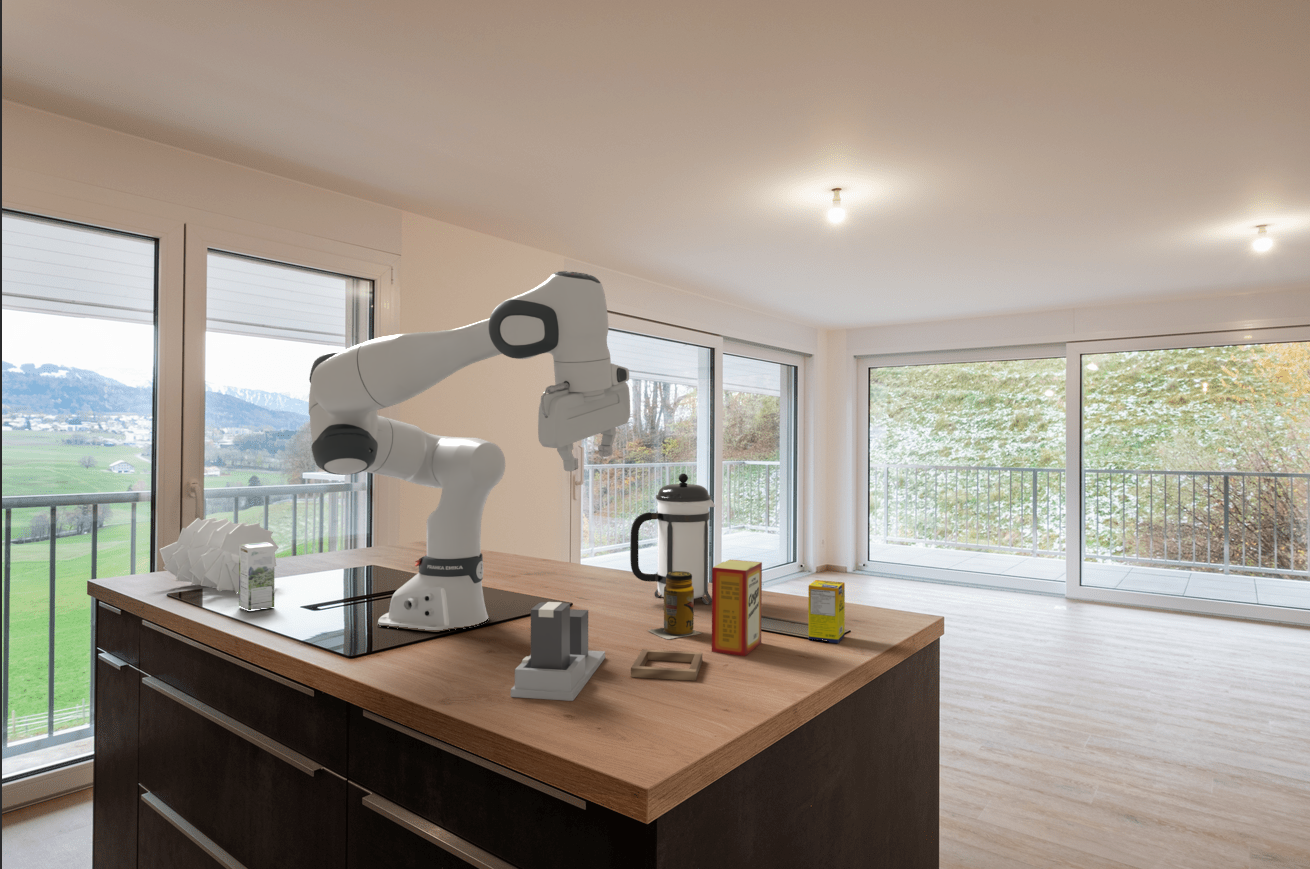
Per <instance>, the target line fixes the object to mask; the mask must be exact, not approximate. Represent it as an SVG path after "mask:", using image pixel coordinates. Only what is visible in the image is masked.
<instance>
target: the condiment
mask: <svg viewBox="0 0 1310 869" xmlns="http://www.w3.org/2000/svg"><path fill="white" fill-rule="evenodd" d="M694 600H695V599H694V588H693V586H692V574H691V573H689V572H684V571H674V572H668V573H667V575H666V586H665V587H664V596H663V627H659V628H654V629H653V628H651V629H647V631H648V632H650V633H651V634H653V635H655V636H658V637H660V638H662V639H666V640H671V639H675V638H682V637H690V636H696V635H700V634H702V632H701V631H697V630H695V629H694V624H695V622H694V621H695V619H694V617H695V615H694V614H695V613H694V612H695V611H694V610H695V607H694V606H695V604H694V602H695V601H694Z"/></svg>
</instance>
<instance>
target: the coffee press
mask: <svg viewBox="0 0 1310 869" xmlns="http://www.w3.org/2000/svg"><path fill="white" fill-rule="evenodd" d="M688 480H689V477H688V475H687V474H686V473H681V474H679V476H678V481H679V482H680V483H674V484H673V483H671V484H666V485H663V486H662V487H660V489H659V490H658V493H657V494H656V495H655V500H656V501H657V510H656V512H651V511H650V512H645V513H642V514H639V515H638V516H637V517H636V518H635V519H634V521H633V523H632V525H631V529H630V538H629V540H630V541H629V542H630V546H629V547H630V549H629V550H630V551H629V552H630V553H629V554H630V558H629V559H630V561H629V562H630V568H631V571H632V573H633V575H634V577H636V578H637V579H638V580H639V581H644V582H649V583H651V582H656V583H657V588H656V590H655V592H654V597H655V598H661V597H664V587H665V586H666V575H667V573H668V572H674V571H684V572H689V573H691V574H692V586H693V588H694V600H695V599H700V600H701V601H702V602H703V603H704V605H710V604H712V596H711V595H710V592H709V552H710V551H709V549H710V548H709V544H710V543H709V541H710V540H709V536H710V535H709V534H710V533H709V532H710V531H709V526H710V524H709V522H710V520H711V519H710V516H711V514H710V510H709V509H710V508H715V507H716V505H715V503H714V501H713V500H712V499H711V495H710V494H709V492H708V489H707V488H705V487H704V486H703V485H699V484H694V483H693V484H692V483H687V482H688ZM651 520H657V555H656V556H657V565H656V566H657V569H656V570H657V571H656V573H644V572H643V571H641V569H640V566H639V564H640V563H639V534H640V533H639V532H640V528H641V526H642V524H644V523H645V522H646V521H651ZM704 596H705V597H706V598H707V599H706V598H705V597H704ZM707 600H708V601H707Z"/></svg>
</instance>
